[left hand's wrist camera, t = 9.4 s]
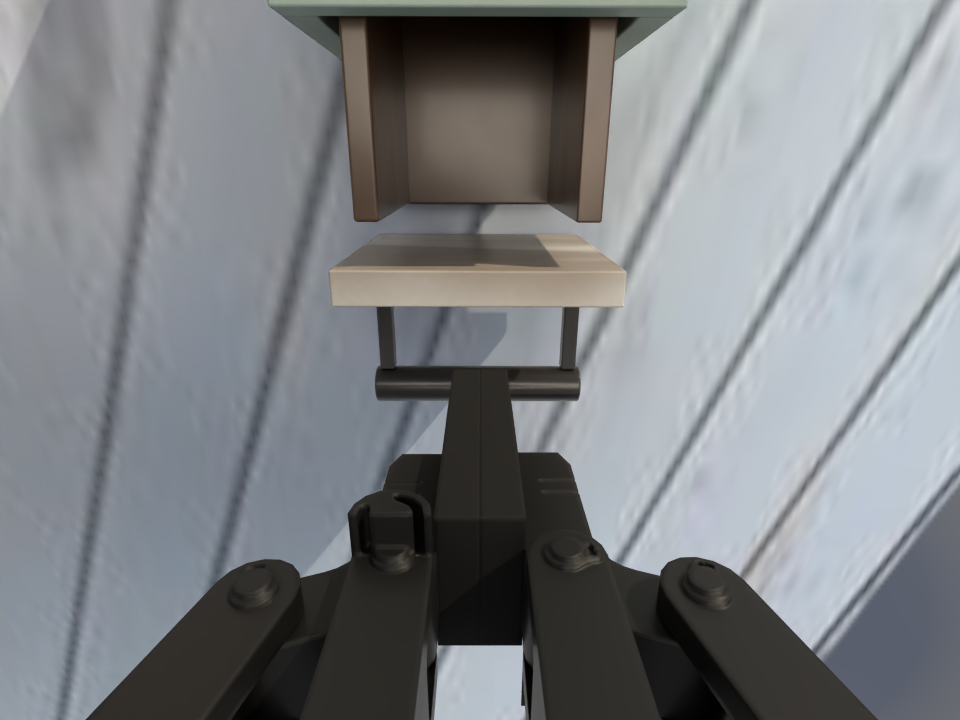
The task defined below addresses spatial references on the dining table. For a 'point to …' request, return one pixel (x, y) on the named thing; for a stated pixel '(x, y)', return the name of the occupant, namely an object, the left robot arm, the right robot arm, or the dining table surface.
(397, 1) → the cabinet
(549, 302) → the drawer
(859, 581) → the dining table surface
